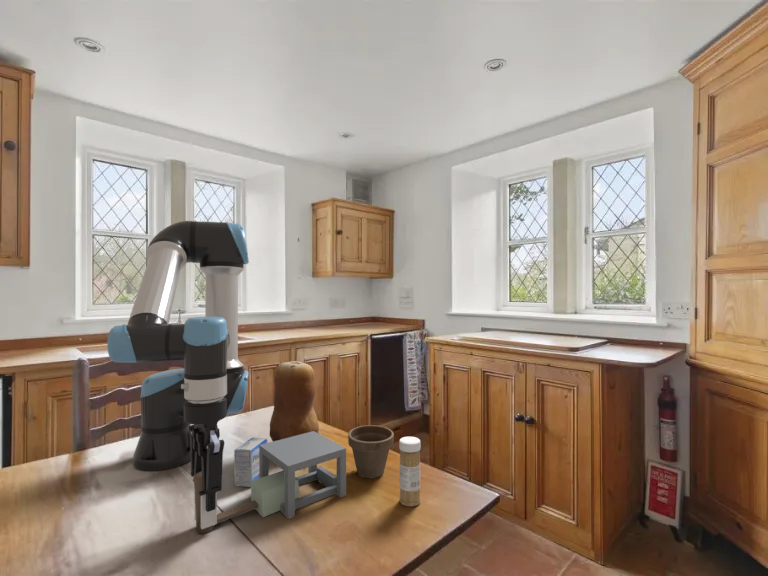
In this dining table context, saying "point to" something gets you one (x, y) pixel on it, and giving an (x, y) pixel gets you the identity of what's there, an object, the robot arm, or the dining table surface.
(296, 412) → the butternut squash
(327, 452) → the grey step stool
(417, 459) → the sprinkles bottle
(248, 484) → the medicine box
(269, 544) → the dining table surface
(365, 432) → the flower pot
